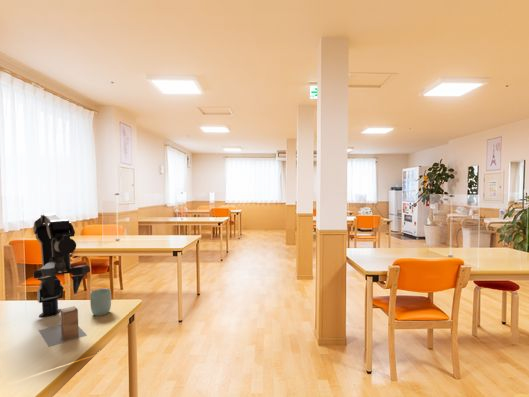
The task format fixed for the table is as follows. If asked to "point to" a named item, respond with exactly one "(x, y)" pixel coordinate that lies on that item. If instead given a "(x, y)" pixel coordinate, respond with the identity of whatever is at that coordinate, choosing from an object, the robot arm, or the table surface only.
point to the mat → (57, 335)
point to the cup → (100, 301)
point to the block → (69, 323)
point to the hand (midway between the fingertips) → (63, 294)
